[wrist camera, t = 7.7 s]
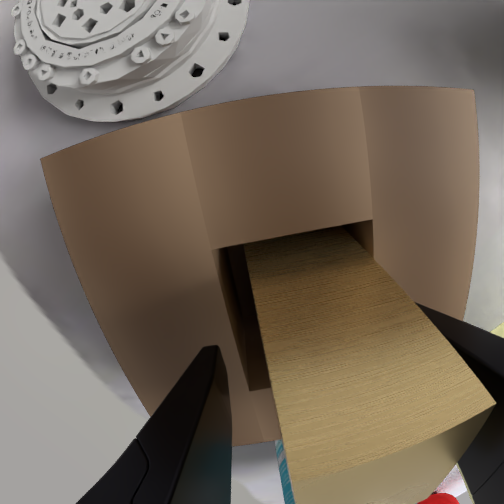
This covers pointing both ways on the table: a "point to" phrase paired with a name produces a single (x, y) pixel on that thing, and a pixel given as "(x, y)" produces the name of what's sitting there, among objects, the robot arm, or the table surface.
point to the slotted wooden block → (261, 219)
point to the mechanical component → (124, 52)
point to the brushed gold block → (358, 374)
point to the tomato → (440, 499)
